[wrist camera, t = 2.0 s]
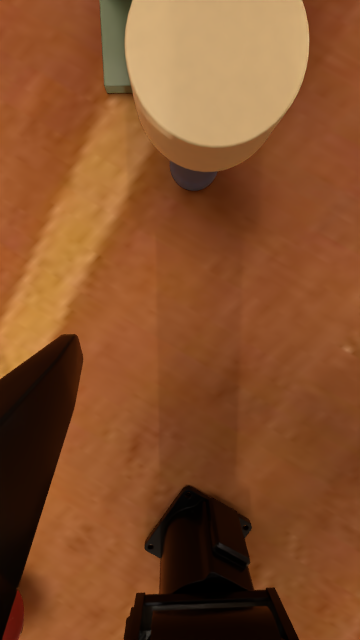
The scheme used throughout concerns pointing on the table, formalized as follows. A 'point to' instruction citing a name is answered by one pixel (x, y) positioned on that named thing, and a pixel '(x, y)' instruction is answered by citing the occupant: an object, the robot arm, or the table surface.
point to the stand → (114, 45)
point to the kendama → (15, 620)
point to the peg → (213, 77)
